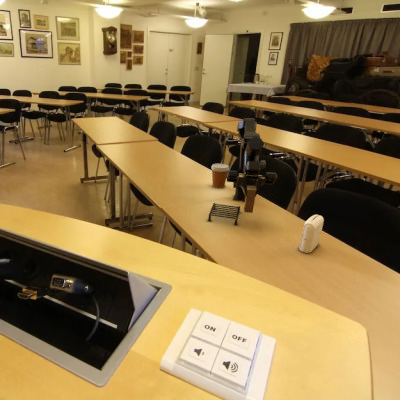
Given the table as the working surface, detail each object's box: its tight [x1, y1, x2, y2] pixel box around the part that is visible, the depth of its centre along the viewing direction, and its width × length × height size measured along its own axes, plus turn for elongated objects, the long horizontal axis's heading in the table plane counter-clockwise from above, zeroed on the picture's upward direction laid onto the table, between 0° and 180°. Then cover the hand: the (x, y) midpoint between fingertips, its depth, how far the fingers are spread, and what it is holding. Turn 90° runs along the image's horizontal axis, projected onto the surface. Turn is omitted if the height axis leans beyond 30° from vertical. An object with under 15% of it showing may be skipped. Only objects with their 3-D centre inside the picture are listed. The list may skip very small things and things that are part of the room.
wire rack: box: [207, 202, 241, 226], centre depth 142 cm, size 14×12×3 cm
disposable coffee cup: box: [210, 163, 230, 189], centre depth 176 cm, size 10×10×12 cm
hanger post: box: [243, 185, 256, 214], centre depth 130 cm, size 3×3×11 cm
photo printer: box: [298, 214, 325, 254], centre depth 115 cm, size 10×4×12 cm, turn 133°
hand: (250, 196), depth 128 cm, fingers closed on hanger post, 3 cm apart
